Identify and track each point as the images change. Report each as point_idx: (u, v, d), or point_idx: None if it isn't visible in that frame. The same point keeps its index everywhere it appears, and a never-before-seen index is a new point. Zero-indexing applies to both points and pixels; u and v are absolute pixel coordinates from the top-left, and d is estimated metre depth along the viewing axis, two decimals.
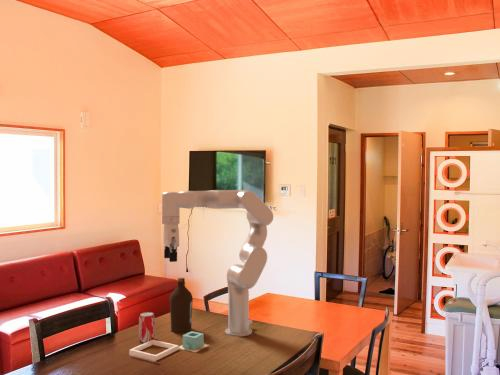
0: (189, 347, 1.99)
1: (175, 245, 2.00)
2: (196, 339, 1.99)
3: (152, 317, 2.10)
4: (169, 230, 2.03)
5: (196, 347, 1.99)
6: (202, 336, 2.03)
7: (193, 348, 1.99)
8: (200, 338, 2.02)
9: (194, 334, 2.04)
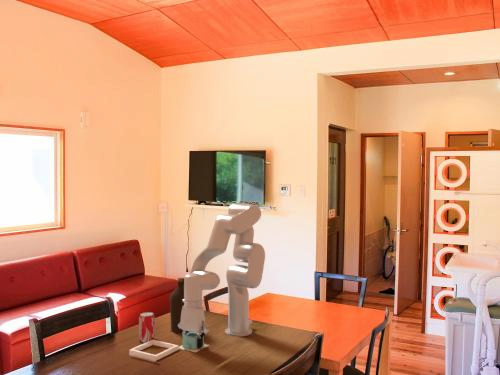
0: (189, 347, 1.99)
1: None
2: (196, 339, 1.99)
3: (152, 317, 2.10)
4: None
5: (196, 347, 1.99)
6: None
7: (193, 348, 1.99)
8: None
9: (194, 334, 2.04)
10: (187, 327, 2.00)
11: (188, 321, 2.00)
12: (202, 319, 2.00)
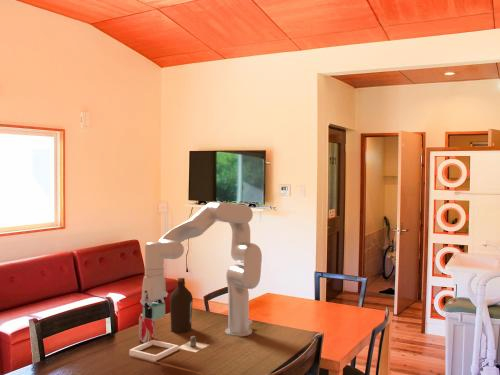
0: None
1: None
2: None
3: None
4: None
5: (144, 316, 1.94)
6: (153, 309, 1.92)
7: None
8: None
9: None
10: None
11: None
12: (145, 289, 1.92)
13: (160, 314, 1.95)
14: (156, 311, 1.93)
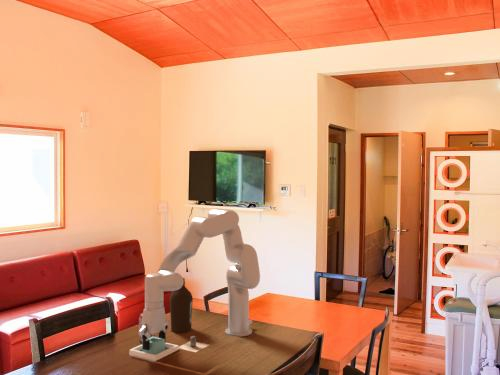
0: None
1: None
2: None
3: None
4: None
5: (144, 351, 1.95)
6: (152, 345, 1.92)
7: None
8: (150, 345, 1.93)
9: None
10: None
11: None
12: (145, 322, 1.92)
13: (160, 349, 1.95)
14: (156, 347, 1.93)
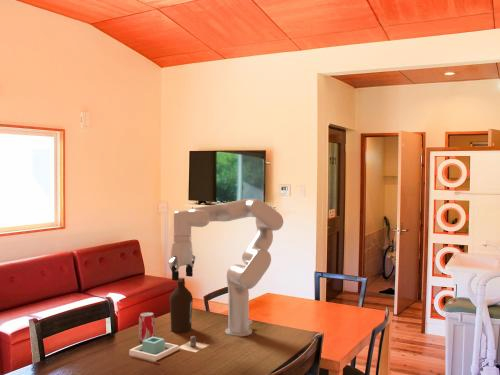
0: None
1: None
2: (144, 343, 1.95)
3: (152, 317, 2.10)
4: None
5: (144, 351, 1.95)
6: (152, 345, 1.92)
7: None
8: (150, 345, 1.93)
9: None
10: None
11: None
12: (174, 254, 2.04)
13: (160, 349, 1.95)
14: (156, 347, 1.93)
